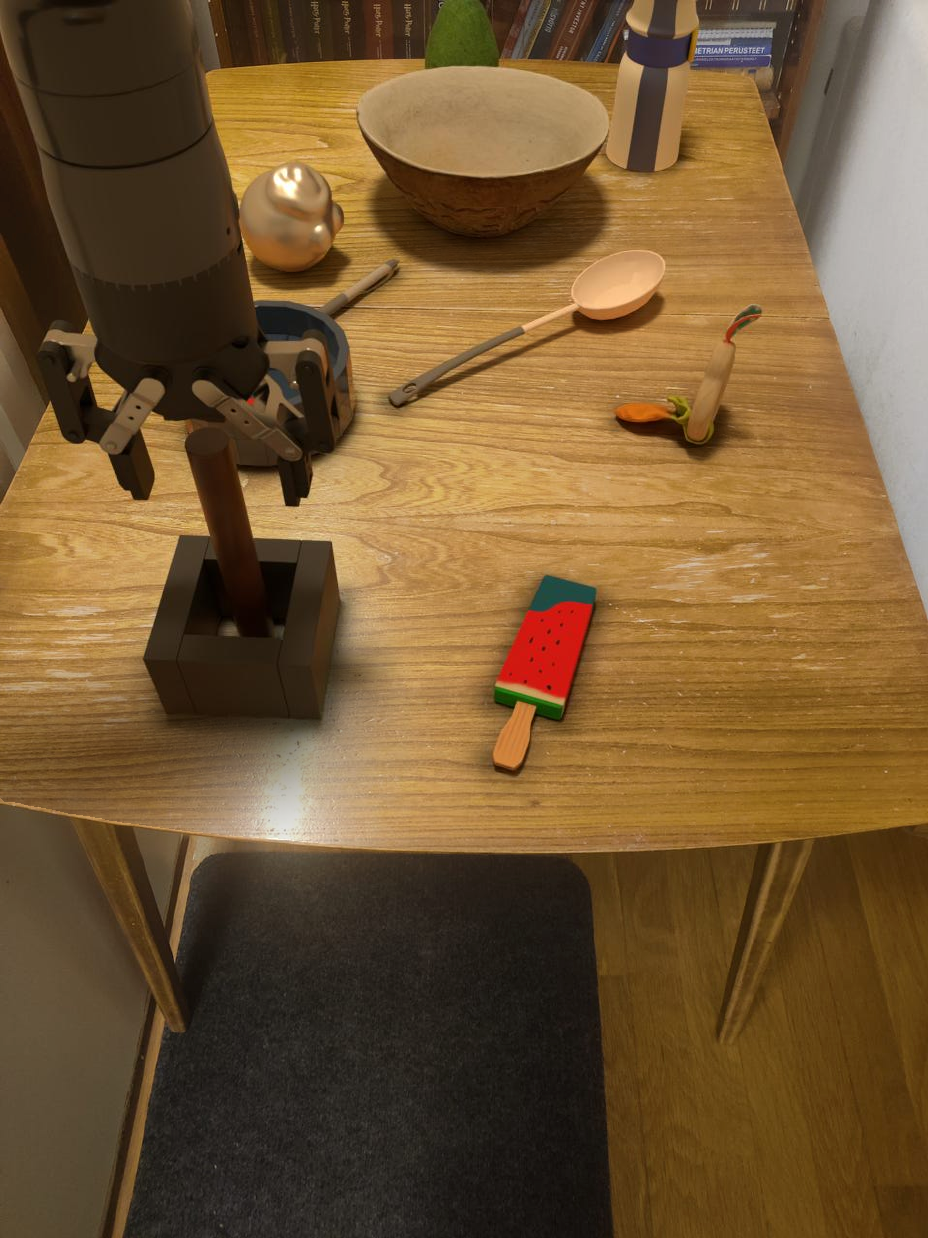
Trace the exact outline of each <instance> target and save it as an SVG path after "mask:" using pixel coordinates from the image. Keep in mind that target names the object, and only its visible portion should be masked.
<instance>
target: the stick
mask: <svg viewBox="0 0 928 1238" xmlns="http://www.w3.org/2000/svg"><path fill="white" fill-rule="evenodd" d="M184 450H185V453H186V456H187V457H186V458H187V460H188V463H189V467H190V471H191V474H192V477H193V478H192V479H193V481H194V484H195V488H196V491H197V495H198V499H199V502H200V506H201V510H202V512H203V517H204V519H205V524H206V526H207V530H208V534H209V536H210V537H211V541H212V544H213V548H214V551H215V555H216V558H217V562H218V565H219V569H220V572H221V576H222V579H223V583H224V586H225V589H226V593H227V596H228V600H229V603H230V607H231V610H232V614H233V616H232V617H233V621H234V624H235V627H236V631H237V635H238V637H260V638H278V636H277V631H276V627H275V623H274V618H272V614H271V610H270V606H269V602H268V597H267V593H266V589H265V585H264V580H263V576H262V572H261V568H260V564H259V559H258V555H257V551H256V547H255V542H254V538H255V537H254V535H253V530H252V526H251V521H250V518H249V513H248V509H247V505H246V504H247V503H246V500H245V496H244V493H243V488H242V483H241V480H240V475H239V472H238V466H237V464H236V462H235V458H234V454H233V450H232V445H231V441H230V437H229V435H228V434H227V433H226V432H225V431H224V430H222V429H220V428H217V427H203V428H200V429H197V430H195V431H193V432H192V433H190V434H189V433H188V435H187V436H186V438H185V441H184Z"/></svg>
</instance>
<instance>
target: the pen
mask: <svg viewBox="0 0 928 1238" xmlns="http://www.w3.org/2000/svg"><path fill="white" fill-rule="evenodd" d="M399 263H400V259H399V258H391V259H389V260H387V261H386V262H384V263H382V264H381V265H380V266H378V267H377V268H376V269H374V270H373V271H371V272H370V273H368V274H367V275H365V277H363V278H361V279H359V281H357V282H355V283H354V284H353V285H351V286H350V287H349V288H347V289H346V290H344V291H342V292H341V293H339V294H338V295H336V296H335V297H333V298H332V299H331V300H329V301H328V302H327V303H324V305H322V306H321V307H319V308H318V309H317V310H319V311H321V312H322V313H324V314H326V315H328V316H330V317H331V316H332V315H333V314H335V313H336V312H337V311H338V310H340V309H341V308H342V307H344V306H346V305H347V304H349V302H351V301H352V300H353V299H355V298H356V297H357V296H359V295H364V294H368V293H369V292H372V291H373V290H375V289H377V288H378V287H380V286H381V285H383V284H384V283H385V282H387V281H389V279H391V278H392V276H393V275H394V273H395V268H397V266H398V264H399ZM375 284H376V285H375ZM372 286H373V287H372Z"/></svg>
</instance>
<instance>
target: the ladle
mask: <svg viewBox="0 0 928 1238" xmlns="http://www.w3.org/2000/svg"><path fill="white" fill-rule="evenodd" d="M666 268H667V267H666V261H665V260H664V258H663V257H662V256H661V254H659V253H657V252H655V251H652V250H646V249H632V250H631V249H629V250H624V251H620V252H616V253H613V254H610V255H607V256H605V257H603V258H601V259H599V260H597V261H595V262H594V263H592V264H591V265H589V266H588V267H586V268H584V269H583V271H582V272H581V273H579V275H578V276H577V277H576V278H575V280H574V281H573V284H572V285H571V287H570V297H571V301H572V303H571V304H569V305H567V306H564V307H563V308H560V309H558V310H555V311H553V312H551V313H548V314H546V315H544V316H541V317H540V318H537V319H535V320H533V321H530V322H528V323H526V324H523V325H520V326H517V327H516V328H513V329H510V330H508V331H506V332H504V333H501V334H499V335H497V336H495V337H492V338H490V339H488V340H486V341H484V342H482V343H480V344H477V345H476V346H473V347H471V348H469V349H467V350H466V351H464V352H462V353H460V354H458V355H456V356H454V357H452V358H450V359H449V360H447V361H444V362H442V363H440V364H439V365H437V366H434V367H433V368H431V369H430V370H428V371H426V372H424V373H422V374H420V375H418V376H416V377H415V378H413V379H411V380H409V381H408V382H406V383H404V384H403V385H401V386H399V387H397V389H395V390H393V391H391V392H390V393H389V394H388V395H387V398H388V400H389V401H390V402H391V403H392V404H393V406H395V407H398V406H400V405H402V404H403V403H404V402H406V401H408V400H409V399H411V398H412V397H413V396H415V395H418V394H419V393H420V392H422V391H423V390H425V389H426V388H428V387H429V386H430V385H432V384H433V383H435V382H436V381H438V380H439V379H441V378H442V377H443V376H446V375H447V374H448V373H450V372H451V371H453V370H455V369H457V368H458V367H460V366H461V365H464V364H465V363H467V362H469V361H471V360H473V359H476V358H477V357H478V356H481V355H482V354H485V353H486V352H489V351H491V350H492V349H495V348H496V347H499V346H500V345H503V344H506V343H507V342H509V341H511V340H514V339H516V338H518V337H521V336H522V335H524V334H526V333H529V332H530V331H534V330H535V329H537V328H540V327H541V326H545V325H547V324H549V323H551V322H553V321H555V320H557V319H560V318H562V317H565V316H567V315H569V314H571V313H574V312H576V311H577V312H579V313H580V314H582V315H584V316H586V317H588V318H589V319H592V320H599V321H604V320H605V321H606V320H614V319H617V318H618V319H619V318H621V317H625V316H627V315H629V314H631V313H633V312H636V311H637V310H638V309H640V308H641V307H642V306H645V304H647V303H648V301H649V300H650V299H651V298H652V297H653V296H654V295H655V293H656V292H657V291H658V290H659V289H660V286H661V284H662V282H663V280H664V277H665V273H666ZM410 387H415V388H414V390H412V391H410V392H405V390H407V389H408V388H410Z"/></svg>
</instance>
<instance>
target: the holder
mask: <svg viewBox="0 0 928 1238" xmlns="http://www.w3.org/2000/svg"><path fill="white" fill-rule="evenodd" d="M253 538H254V542H255V547H256V551H257V555H258V559H259V564H260V568H261V572H262V576H263V580H264V585H265V589H266V593H267V597H268V602H269V606H270V610H271V614H272V619H285V623H284V628H283V634H282V638H281V637H277V638H260V637H239V636H237V635H236V636H234V635H217V634H218V629H219V625H220V622H221V618H222V617H233V614H232V610H231V607H230V603H229V600H228V596H227V593H226V589H225V586H224V583H223V579H222V576H221V572H220V569H219V565H218V562H217V558H216V555H215V551H214V548H213V544H212V541H211V537H210V535H198V534H197V535H195V534H194V535H193V534H179V537H178V539H177V543H176V546H175V549H174V552H173V556H172V559H171V564H170V567H169V569H168V573H167V577H166V580H165V582H164V583H165V584H164V587H163V590H162V594H161V598H160V600H159V603H158V607H157V610H156V614H155V617H154V621H153V623H152V627H151V630H150V634H149V636H148V640H147V644H146V647H145V650H144V654H143V658H142V661H143V664H144V666H145V668H146V670H147V672H148V675H149V677H150V679H151V682H152V684H153V686H154V689H155V691H156V693H157V696H158V698H159V700H160V703H161V705H162V707H163V710H164V712H165V714H170V715H171V714H174V715H195V716H196V715H203V716H205V715H206V716H223V717H224V716H225V717H249V718H268V719H269V718H271V719H273V718H274V719H294V720H295V719H296V720H314V721H315V720H317V721H318V720H319V721H321V720H322V716H323V711H324V705H325V698H326V691H327V687H328V686H327V684H328V678H329V673H330V665H331V659H332V653H333V647H334V640H335V635H336V629H337V628H336V627H337V623H338V622H337V621H338V615H339V609H340V602H341V595H340V587H339V580H338V575H337V568H336V567H337V566H336V560H335V554H334V547H333V542H332V541H331V540H317V539H316V540H315V539H312V540H311V539H302V540H301V539H294V538H293V539H290V538H265V537H253Z"/></svg>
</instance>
